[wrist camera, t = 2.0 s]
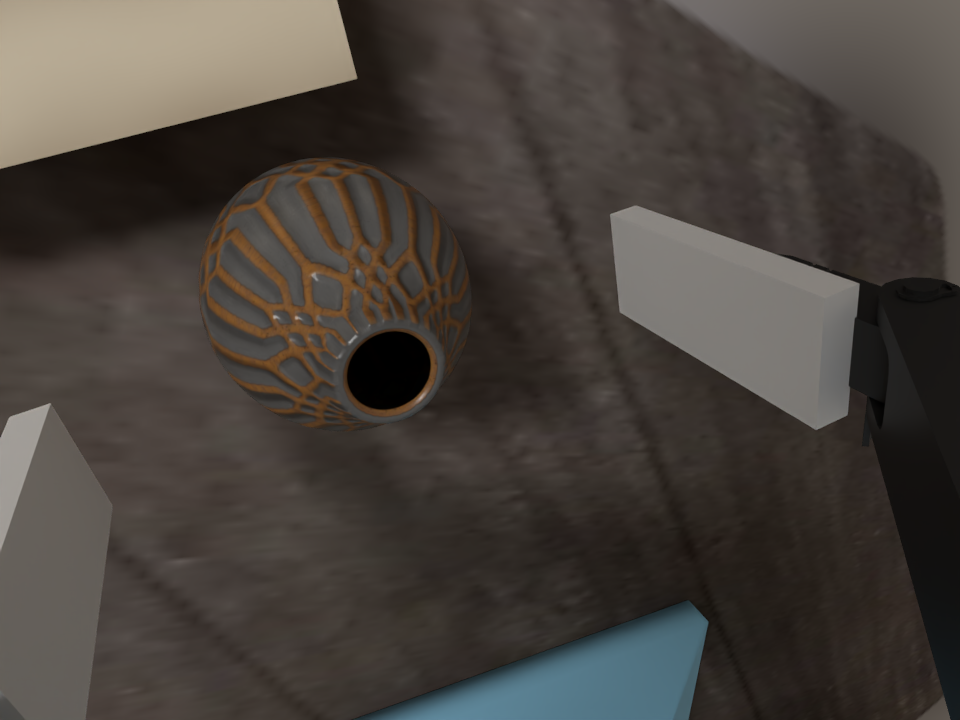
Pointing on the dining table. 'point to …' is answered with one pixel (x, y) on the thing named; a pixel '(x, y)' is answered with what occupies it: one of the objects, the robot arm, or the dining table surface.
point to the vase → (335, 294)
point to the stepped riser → (153, 65)
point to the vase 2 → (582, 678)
